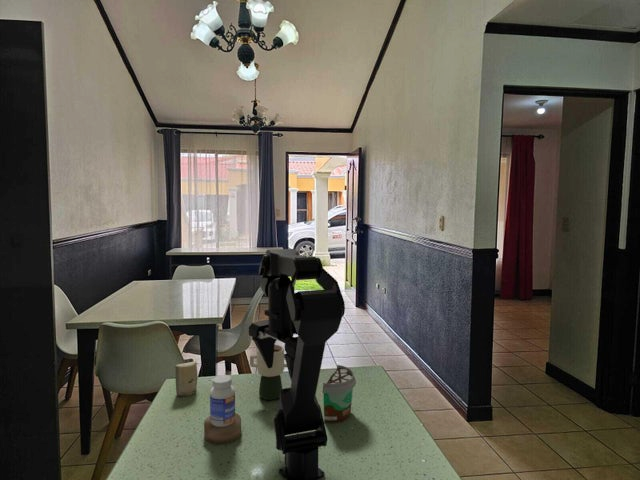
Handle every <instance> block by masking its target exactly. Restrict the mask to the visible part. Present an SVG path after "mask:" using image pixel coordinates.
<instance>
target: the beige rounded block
mask: <svg viewBox="0 0 640 480" xmlns="http://www.w3.org/2000/svg"><path fill="white" fill-rule="evenodd" d="M197 365H198V362H197V361H191V362H186V363H177V364H176V365H175V390H176V392H175V393H176V396H177V397H186V396H187V397H188V396H192V395H193V394H194V393H196V392H197V387H198V386H197V385H198V366H197Z"/></svg>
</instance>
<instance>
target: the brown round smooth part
mask: <svg viewBox="0 0 640 480" xmlns="http://www.w3.org/2000/svg"><path fill="white" fill-rule="evenodd" d="M203 431H204V432H203V437H204V439H205V441H206V442H207V443H210V444H213V445H226V444H229V443H233V442H234V441H237V440H238V438H240V436H241V435H242V418H241V415H239V413H237V412H235V421H234V422H233V423H232V424H231V425H228V426H225V427H216V426H214V425H212V424H211V421H210V415H208V417H206V418H205V420H204V422H203Z"/></svg>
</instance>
